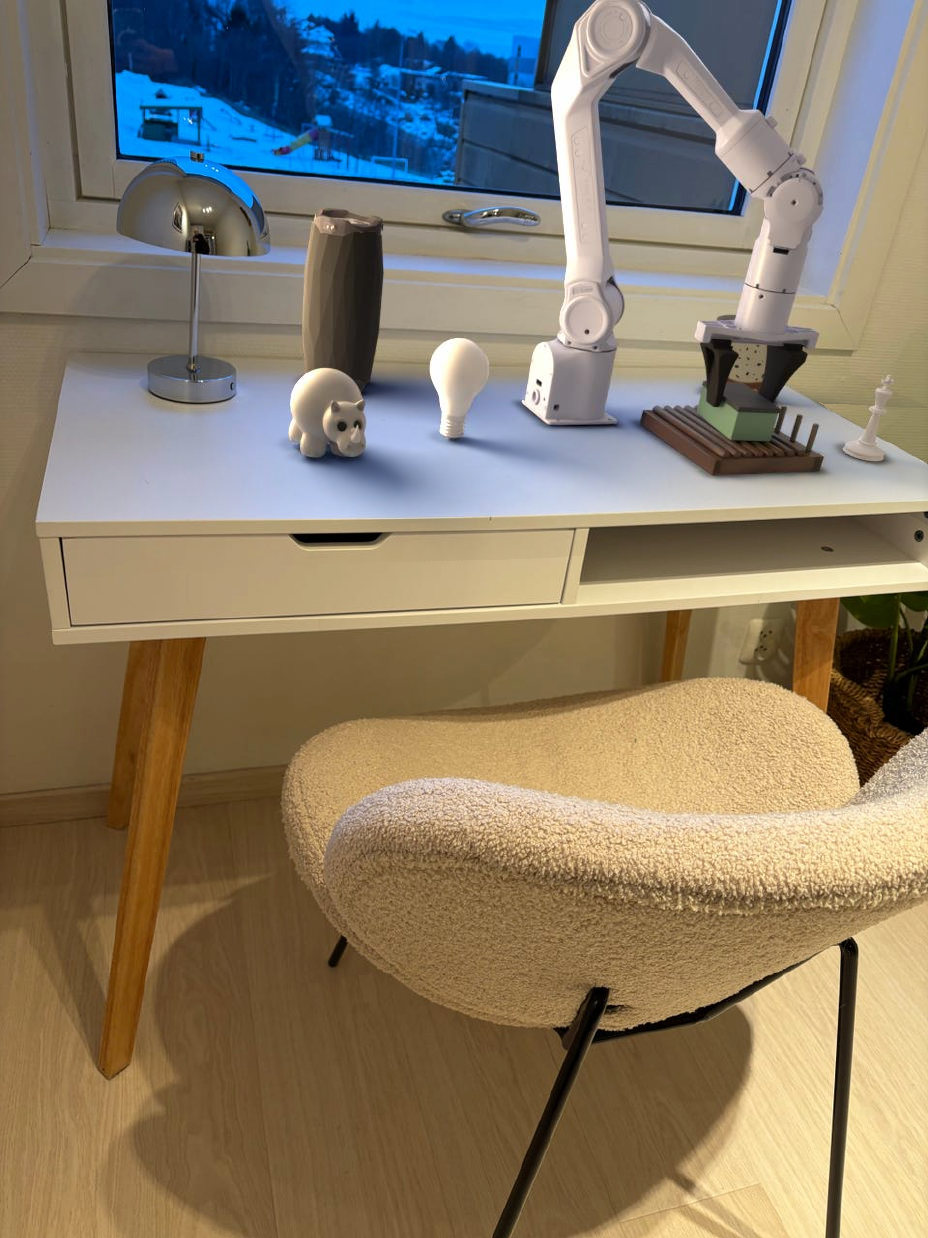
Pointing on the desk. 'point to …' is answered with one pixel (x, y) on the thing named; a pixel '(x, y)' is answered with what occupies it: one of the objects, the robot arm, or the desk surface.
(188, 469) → the desk surface
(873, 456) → the chess piece
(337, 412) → the toy rhinoceros
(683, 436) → the dish rack
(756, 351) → the food container
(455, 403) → the lightbulb
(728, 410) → the box
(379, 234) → the brown vase
